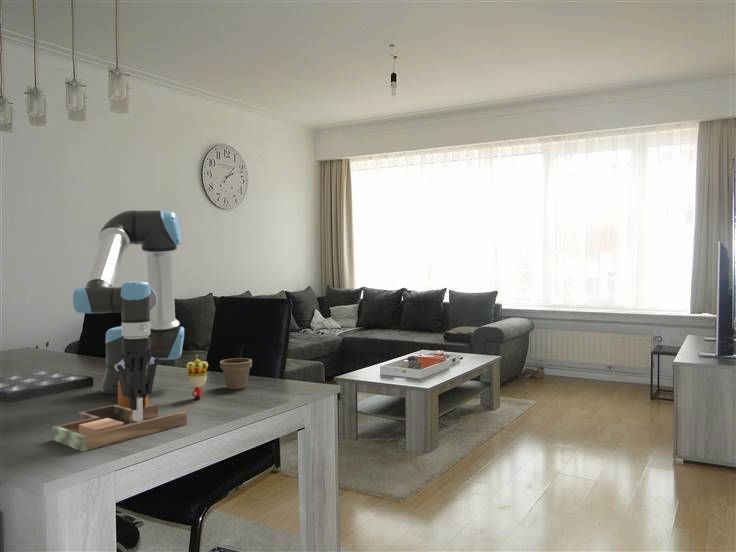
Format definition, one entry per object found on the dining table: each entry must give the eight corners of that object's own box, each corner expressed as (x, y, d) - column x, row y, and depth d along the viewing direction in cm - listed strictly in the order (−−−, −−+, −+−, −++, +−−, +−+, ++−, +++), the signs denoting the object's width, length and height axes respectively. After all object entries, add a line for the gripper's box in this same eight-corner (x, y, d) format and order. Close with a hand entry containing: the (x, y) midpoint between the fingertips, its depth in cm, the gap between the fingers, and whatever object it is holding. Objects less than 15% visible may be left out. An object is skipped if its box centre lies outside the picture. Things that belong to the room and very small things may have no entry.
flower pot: (213, 389, 214) (213, 361, 214) (232, 383, 224) (231, 356, 224) (240, 392, 210) (240, 364, 209) (258, 385, 220) (258, 358, 220)
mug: (111, 415, 180) (110, 385, 180) (122, 406, 192) (121, 378, 192) (142, 413, 181) (141, 384, 181) (151, 404, 193) (150, 376, 193)
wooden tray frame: (37, 433, 161) (36, 420, 161) (139, 410, 185) (138, 399, 185) (82, 451, 146) (82, 437, 146) (186, 424, 170) (186, 411, 170)
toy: (189, 396, 203) (188, 353, 203) (210, 396, 204) (210, 352, 204) (184, 401, 196) (183, 356, 196) (206, 401, 197) (206, 356, 196)
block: (79, 439, 157) (78, 424, 157) (107, 432, 163) (107, 417, 163) (95, 445, 152) (95, 429, 152) (124, 437, 159) (123, 422, 159)
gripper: (121, 340, 158) (123, 428, 159) (164, 335, 168) (166, 417, 169) (106, 338, 163) (108, 423, 164) (149, 333, 173) (151, 413, 174)
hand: (137, 420), depth 167 cm, fingers closed
